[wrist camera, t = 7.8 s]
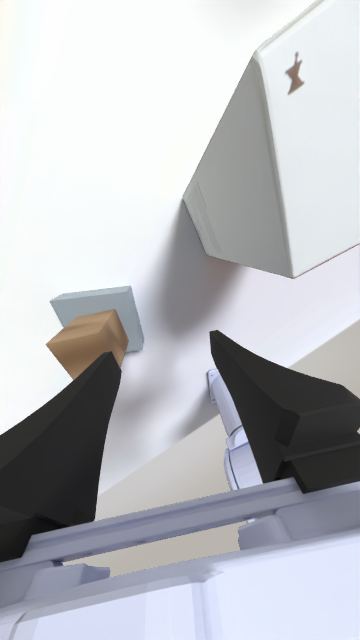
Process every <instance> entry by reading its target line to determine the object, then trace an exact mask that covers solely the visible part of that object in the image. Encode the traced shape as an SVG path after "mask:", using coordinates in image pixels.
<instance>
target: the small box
mask: <svg viewBox="0 0 360 640" xmlns="http://www.w3.org/2000/svg"><path fill="white" fill-rule="evenodd" d="M183 199H184V202H185V204H186V206H187V209H188V211H189V213H190V216H191V218H192V221H193V223H194V225H195V228H196V230H197V232H198V235H199V237H200V240H201V242H202V245H203V247H204V249H205V252H206V254H207V255H208V256H212V257H215V258H219V259H222V260H226V261H230V262H233V263H237V264H241V265H244V266H248V267H252V268H256V269H259V270H263V271H267V272H270V273H274V274H278V275H281V276H285V277H288V278H291V279H294V278H297V277H298V276H300V275H302V274H304V273H306V272H308V271H310V270H312V269H313V268H315V267H317V266H319V265H321V264H323V263H325V262H327V261H329V260H330V259H332V258H334V257H336V256H338V255H340V254H342V253H344V252H346V251H348V250H349V249H351V248H353V247H355V246H357V245H359V244H360V0H316V1H315V2H314V3H313V4H312V5H310V6H309V7H308V8H307V9H306V10H304V11H303V12H302V13H301V14H300V15H299V16H297V17H296V18H295V19H293V20H292V21H291V22H289V23H288V24H287V25H285V26H284V27H283V28H282V29H280V30H279V31H278V32H277V33H275V34H274V35H273V36H272V37H270V38H269V39H268V40H266V41H265V42H264V43H262V44H261V45H260V46H259V47H258V48H257V49H256V50H255V52H254V53H253V55H252V57H251V59H250V61H249V63H248V65H247V67H246V69H245V71H244V73H243V75H242V77H241V79H240V81H239V83H238V85H237V87H236V89H235V91H234V93H233V96H232V98H231V100H230V102H229V104H228V106H227V108H226V110H225V112H224V114H223V116H222V118H221V120H220V122H219V124H218V126H217V128H216V130H215V132H214V134H213V136H212V138H211V140H210V142H209V144H208V146H207V148H206V150H205V152H204V154H203V156H202V158H201V160H200V162H199V164H198V166H197V169H196V171H195V173H194V175H193V177H192V179H191V181H190V183H189V185H188V187H187V188H186V190H185V192H184V194H183Z"/></svg>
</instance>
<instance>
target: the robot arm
mask: <svg viewBox="0 0 360 640" xmlns="http://www.w3.org/2000/svg"><path fill="white" fill-rule="evenodd" d="M210 345H211V354H212V357H213V360H214V362H215V365H216V367H217V369H215V370H210V371H209V372H208V378H209V388H210V398H211V404H217V406H218V409H219V412H220V415H221V418H222V421H223V424H224V427H225V430H226V433H227V435H228V437H229V438H228V439H226V442H227V445H228V448H227V449H226V450H225V454H224V468H225V473H226V477H227V481H228V484H229V487H230V490H231V491H229V492H224V493H220V494H215V495H211V496H206V497H202V498H197V499H193V500H188V501H184V502H179V503H175V504H171V505H166V506H162V507H157V508H153V509H148V510H143V511H139V512H134V513H130V514H126V515H121V516H116V517H112V518H108V519H103V520H99V521H94V519H95V512H96V503H97V494H98V485H99V477H100V470H101V463H102V456H103V450H104V444H105V439H106V434H107V429H108V424H109V420H110V416H111V413H112V409H113V406H114V402H115V399H116V396H117V392H118V389H119V385H120V379H121V372H122V371H121V369H120V367H119V365H118V363H117V361H116V359H115V357H114V355H113V353H112V351H110V352H105V353H102V354H101V355H100V356H99V357H98V358H97V359H96V360H95V361H94V362H93V363H91V364H90V365H89V366H88V367H87V368H86V369H85V370H84V371H83V372H82V373H81V374H80V375H79V376H78V377H77V378H76V379H74V380H73V381H72V382H71V383H70V384H69V385H68V386H67V387H66V388H64V389H63V390H62V391H61V392H60V393H58V394H57V395H56V396H55V397H54V398H52V399H51V400H50V401H48V402H47V403H46V404H45V405H43V406H42V407H41V408H39V409H38V410H36V411H35V412H34V413H32V414H31V415H30V416H28V417H27V418H25V419H24V420H23V421H21V422H20V423H18V424H17V425H15V426H14V427H12V428H11V429H9V430H8V431H6V432H5V433H3V434H2V435H0V640H360V434H359V433H358V432H357V430H358V429H359V428H360V399H359V398H358V397H357V396H355V395H354V394H353V393H351V392H350V391H349V390H348V389H346V388H345V387H344V386H342V385H340V384H336V383H332V382H329V381H326V380H322V379H318V378H315V377H311V376H308V375H305V374H302V373H299V372H296V371H293V370H290V369H288V368H285V367H283V366H280V365H278V364H275V363H273V362H271V361H268V360H266V359H264V358H262V357H260V356H258V355H256V354H254V353H252V352H250V351H249V350H247V349H245V348H243V347H242V346H240V345H239V344H237V343H236V342H234V341H233V340H231V339H230V338H228V337H227V336H225V335H224V334H223V333H221V332H220V331H218V330H215V331H210ZM93 521H94V522H93ZM242 521H246V522H247V524H246V525H243V526H240V527H239V529H238V533H239V539H238V542H239V546H240V550H241V551H235V552H230V553H225V554H219V555H214V556H208V557H203V558H198V559H193V560H188V561H182V562H178V563H172V564H168V565H163V566H159V567H154V568H150V569H144V570H140V571H136V572H131V573H127V574H123V575H118V576H114V577H110V578H109V576H110V568H109V567H92V566H88V565H86V564H75V565H67V566H63V564H62V562H67V561H71V560H75V559H80V558H84V557H89V556H93V555H97V554H102V553H106V552H110V551H115V550H119V549H124V548H128V547H132V546H137V545H141V544H145V543H150V542H154V541H159V540H163V539H168V538H172V537H176V536H181V535H185V534H190V533H194V532H198V531H202V530H207V529H211V528H216V527H220V526H224V525H229V524H233V523H238V522H242Z"/></svg>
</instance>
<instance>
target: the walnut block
mask: <svg viewBox="0 0 360 640" xmlns="http://www.w3.org/2000/svg"><path fill="white" fill-rule="evenodd" d="M128 342H129V339H128V337H127V335H126V332H125V330H124V328H123V325H122V323H121V321H120V319H119V316H118V314H117V312H116V309H112V310H108V311H103V312H99V313H94V314H89V315H85V316H80V317H76V318H75V319H74V320H73V321H71V322H70V323H69V324H68V325H67V326H66V327H65V328H64V329H62V330H61V331H60V332H59V333H58V334H57V335H56V336H55V337H53V338H52V339H51V340H50V341H49V342H48V343H47V344H46V346H47V347H48V348H49V349H50V351H51V352H52V353H53V355H54V356H55V357H56V358H57V360H58V361H59V362H60V363H61V365H62V366H63V367H64V369H65V370H66V371H67V372H68V374H69V375H70V376H71V377H72V379H73V380H74V379H76V378H77V377H78V376H79V375H80V374H81V373H82V372H83V371H84V370H85V369H86V368H87V367H88V366H89V365H90V364H91V363H93V362H94V361H95V360H96V359H97V358H98V357H99V356H100V355H101V354H102V353H105V352H110V351H112V353H113V355H114V357H115V359H116V361H117V363H118V365H119V367H121V364H122V361H123V358H124V355H125V352H126V349H127V345H128Z"/></svg>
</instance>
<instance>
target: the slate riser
mask: <svg viewBox="0 0 360 640" xmlns="http://www.w3.org/2000/svg"><path fill="white" fill-rule="evenodd" d="M50 303H51V305H52V307H53V309H54V311H55V312H56V314H57V316H58V318H59V320H60V322H61V323H62V325H63V327H64V328H65V327H66V326H67V325H68V324H69V323H70V322H71V321H73V320H74V319H75V318H76V317H80V316H85V315H89V314H94V313H99V312H103V311H108V310H112V309H116V312H117V314H118V316H119V319H120V321H121V323H122V325H123V328H124V330H125V332H126V335H127V337H128V339H129V342H128V345H127V349H126V352H130V351H137V350H142V348H143V343H144V337H143V333H142V329H141V325H140V321H139V317H138V313H137V309H136V305H135V301H134V297H133V293H132V289H131V286H124V287H116V288H107V289H99V290H90V291H82V292H74V293H65V294H62V295H60V296H58V297H56V298H54V299H52V300H51V301H50Z"/></svg>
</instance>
